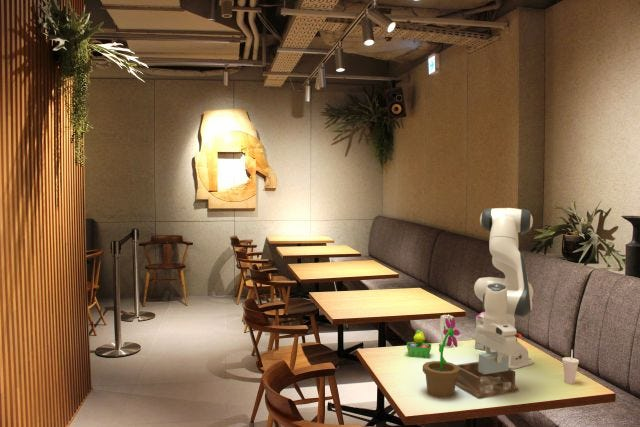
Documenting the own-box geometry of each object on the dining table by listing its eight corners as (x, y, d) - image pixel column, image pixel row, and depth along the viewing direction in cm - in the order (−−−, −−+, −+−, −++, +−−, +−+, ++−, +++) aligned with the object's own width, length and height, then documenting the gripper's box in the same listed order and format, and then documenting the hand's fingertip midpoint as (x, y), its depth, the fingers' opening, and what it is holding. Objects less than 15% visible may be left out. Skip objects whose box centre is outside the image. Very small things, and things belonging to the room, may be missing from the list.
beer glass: (453, 348, 274) (454, 318, 273) (439, 347, 276) (440, 317, 275) (453, 344, 281) (454, 315, 280) (439, 343, 283) (440, 314, 282)
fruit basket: (406, 356, 261) (406, 333, 260) (407, 351, 269) (408, 328, 269) (430, 359, 258) (431, 335, 257) (431, 353, 267) (432, 330, 266)
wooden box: (489, 376, 236) (490, 359, 236) (518, 391, 221) (519, 372, 220) (451, 383, 228) (451, 365, 228) (478, 398, 213) (479, 379, 212)
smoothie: (570, 386, 227) (572, 352, 226) (557, 381, 232) (559, 348, 231) (581, 383, 230) (583, 350, 229) (568, 378, 235) (569, 346, 234)
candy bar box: (480, 343, 284) (481, 311, 283) (490, 345, 281) (491, 313, 280) (474, 349, 274) (475, 316, 273) (484, 350, 272) (485, 317, 270)
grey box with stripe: (484, 374, 215) (484, 356, 215) (478, 371, 218) (478, 353, 218) (508, 370, 220) (509, 353, 219) (502, 367, 223) (502, 350, 223)
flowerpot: (466, 397, 213) (468, 321, 211) (432, 401, 209) (435, 323, 207) (447, 384, 227) (449, 312, 225) (415, 387, 223) (417, 314, 221)
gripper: (471, 319, 226) (470, 353, 227) (506, 332, 207) (505, 369, 208) (483, 318, 229) (482, 351, 230) (519, 331, 210) (518, 367, 211)
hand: (493, 360), depth 219 cm, fingers closed on grey box with stripe, 4 cm apart
